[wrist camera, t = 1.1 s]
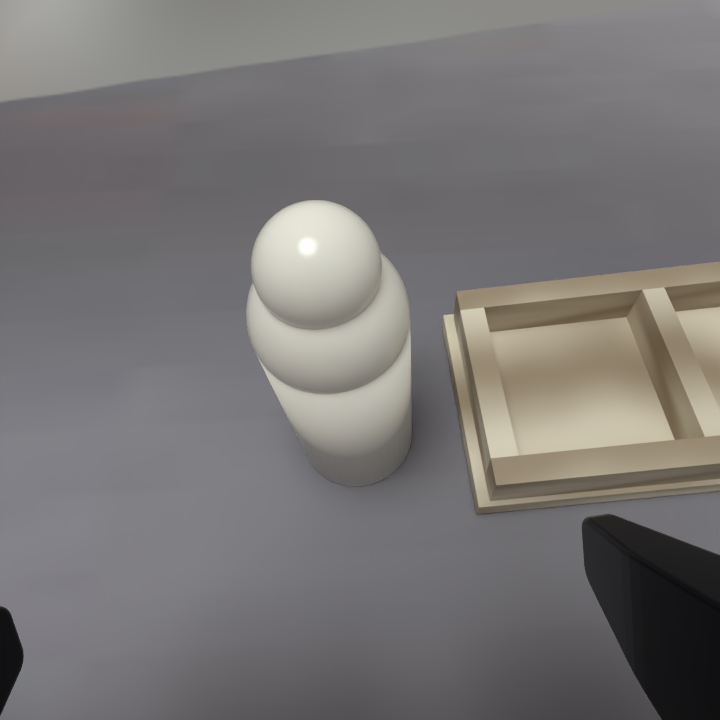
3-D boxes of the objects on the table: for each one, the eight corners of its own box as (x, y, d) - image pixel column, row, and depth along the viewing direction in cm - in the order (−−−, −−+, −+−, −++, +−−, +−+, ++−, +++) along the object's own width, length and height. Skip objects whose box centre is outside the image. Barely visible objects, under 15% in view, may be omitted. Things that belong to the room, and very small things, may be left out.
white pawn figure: (418, 480, 23) (420, 290, 11) (304, 492, 23) (197, 316, 12) (405, 379, 25) (396, 141, 14) (301, 390, 25) (211, 164, 14)
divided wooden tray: (917, 471, 21) (988, 442, 18) (476, 514, 22) (484, 492, 19) (803, 287, 26) (847, 243, 23) (442, 327, 26) (445, 288, 24)
